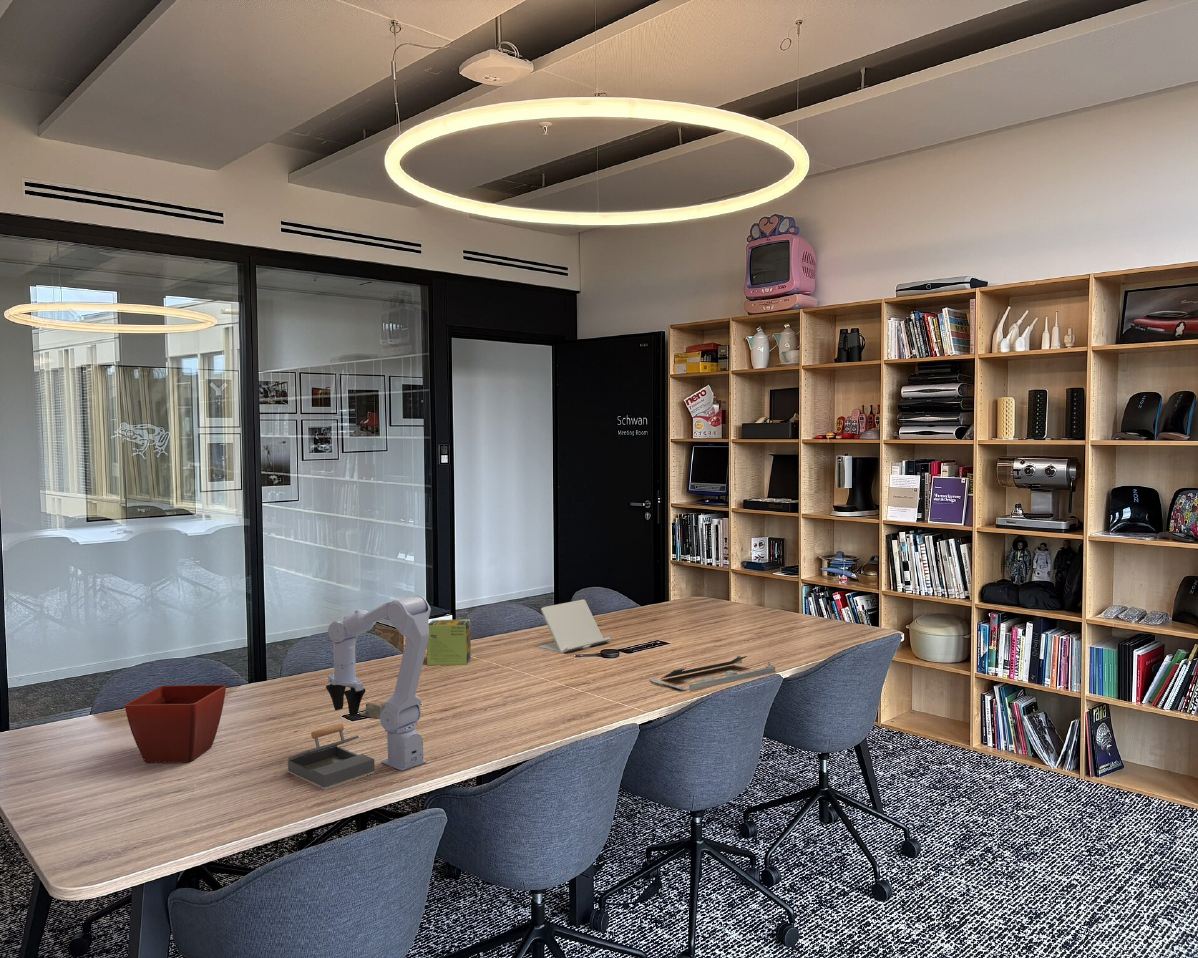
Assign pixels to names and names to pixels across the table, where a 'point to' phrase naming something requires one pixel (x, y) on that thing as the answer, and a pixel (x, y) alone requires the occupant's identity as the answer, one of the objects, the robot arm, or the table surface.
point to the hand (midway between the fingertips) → (346, 712)
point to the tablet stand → (571, 627)
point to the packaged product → (375, 707)
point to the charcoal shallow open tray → (331, 767)
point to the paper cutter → (710, 681)
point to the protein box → (449, 642)
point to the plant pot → (176, 721)
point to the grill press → (324, 732)
